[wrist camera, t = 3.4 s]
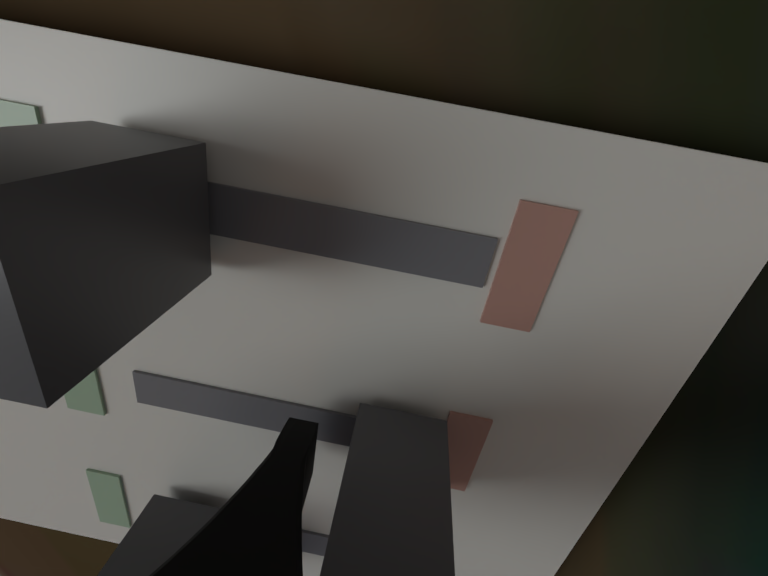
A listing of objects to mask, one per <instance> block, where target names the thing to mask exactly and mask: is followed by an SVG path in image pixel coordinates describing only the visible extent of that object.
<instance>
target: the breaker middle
mask: <svg viewBox="0 0 768 576" xmlns="http://www.w3.org/2000/svg"><path fill="white" fill-rule="evenodd" d="M320 576H455V565H454V545H453V526H452V506H451V486H450V467H449V447H448V428H447V421H446V420H441V419H437V418H432V417H427V416H422V415H417V414H412V413H407V412H403V411H398V410H393V409H388V408H383V407H378V406H373V405H369V404H364V403H360V404H359V408H358V413H357V417H356V421H355V425H354V430H353V434H352V438H351V443H350V447H349V451H348V456H347V460H346V464H345V469H344V473H343V477H342V482H341V486H340V490H339V495H338V499H337V503H336V508H335V512H334V516H333V521H332V525H331V529H330V533H329V538H328V542H327V546H326V551H325V555H324V559H323V564H322V568H321V572H320Z"/></svg>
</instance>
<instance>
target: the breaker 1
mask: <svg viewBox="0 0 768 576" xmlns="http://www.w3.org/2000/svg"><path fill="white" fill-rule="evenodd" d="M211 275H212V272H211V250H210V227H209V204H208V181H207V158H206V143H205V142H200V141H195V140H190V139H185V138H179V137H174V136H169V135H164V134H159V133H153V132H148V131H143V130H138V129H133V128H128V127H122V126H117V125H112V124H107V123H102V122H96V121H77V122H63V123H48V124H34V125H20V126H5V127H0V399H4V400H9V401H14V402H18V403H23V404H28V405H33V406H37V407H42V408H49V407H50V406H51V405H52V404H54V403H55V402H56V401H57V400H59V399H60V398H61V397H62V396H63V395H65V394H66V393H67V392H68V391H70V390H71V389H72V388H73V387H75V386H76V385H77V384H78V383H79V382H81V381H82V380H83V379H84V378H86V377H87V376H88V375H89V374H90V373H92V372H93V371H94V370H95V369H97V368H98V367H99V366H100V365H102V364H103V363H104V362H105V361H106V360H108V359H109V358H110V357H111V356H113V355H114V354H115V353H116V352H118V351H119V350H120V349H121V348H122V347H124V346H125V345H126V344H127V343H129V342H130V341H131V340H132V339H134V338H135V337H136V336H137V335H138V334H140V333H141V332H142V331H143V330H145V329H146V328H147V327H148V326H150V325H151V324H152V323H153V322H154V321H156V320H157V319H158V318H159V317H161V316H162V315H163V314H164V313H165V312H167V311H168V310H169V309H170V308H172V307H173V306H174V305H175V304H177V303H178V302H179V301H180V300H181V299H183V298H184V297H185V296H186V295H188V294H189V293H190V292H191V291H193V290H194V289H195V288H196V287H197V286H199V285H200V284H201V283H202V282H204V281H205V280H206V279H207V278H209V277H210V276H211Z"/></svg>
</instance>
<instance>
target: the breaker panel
mask: <svg viewBox="0 0 768 576" xmlns="http://www.w3.org/2000/svg"><path fill="white" fill-rule="evenodd" d="M77 121H96V122H102V123H107V124H112V125H117V126H122V127H128V128H133V129H138V130H143V131H148V132H153V133H159V134H164V135H169V136H174V137H179V138H185V139H190V140H195V141H200V142H205V143H206V158H207V181H208V204H209V227H210V250H211V272H212V275H211V276H210V277H209V278H207V279H206V280H205V281H204V282H202V283H201V284H200V285H199V286H197V287H196V288H195V289H194V290H193V291H191V292H190V293H189V294H188V295H186V296H185V297H184V298H183V299H181V300H180V301H179V302H178V303H177V304H175V305H174V306H173V307H172V308H170V309H169V310H168V311H167V312H165V313H164V314H163V315H162V316H161V317H159V318H158V319H157V320H156V321H154V322H153V323H152V324H151V325H150V326H148V327H147V328H146V329H145V330H143V331H142V332H141V333H140V334H138V335H137V336H136V337H135V338H134V339H132V340H131V341H130V342H129V343H127V344H126V345H125V346H124V347H122V348H121V349H120V350H119V351H118V352H116V353H115V354H114V355H113V356H111V357H110V358H109V359H108V360H106V361H105V362H104V363H103V364H102V365H100V366H99V367H98V368H97V369H95V370H94V371H93V372H92V373H90V374H89V375H88V376H87V377H86V378H84V379H83V380H82V381H81V382H79V383H78V384H77V385H76V386H75V387H73V388H72V389H71V390H70V391H68V392H67V393H66V394H65V395H63V396H62V397H61V398H60V399H59V400H57V401H56V402H55V403H54V404H52V405H51V406H50V407H49V408H42V407H37V406H33V405H28V404H23V403H18V402H14V401H9V400H4V399H0V518H4V519H8V520H13V521H18V522H22V523H27V524H31V525H36V526H41V527H45V528H50V529H54V530H59V531H64V532H68V533H73V534H77V535H82V536H87V537H91V538H96V539H100V540H105V541H110V542H114V543H119V544H120V542H121V541H122V540H123V538H124V537H125V535H126V534H127V532H128V531H129V530H130V528H131V527H132V525H133V524H134V522H135V521H136V519H137V518H138V517H139V515H140V514H141V512H142V511H143V509H144V508H145V507H146V505H147V504H148V502H149V501H150V499H151V498H152V496H153V495H154V494H156V495H161V496H165V497H170V498H175V499H179V500H184V501H189V502H193V503H198V504H203V505H207V506H212V507H217V508H221V507H222V506H223V505H224V504H225V503H226V502H227V501H228V500H229V499H230V498H231V497H232V496H233V495H234V494H235V492H236V491H237V490H238V489H239V488H240V487H241V486H242V485H243V484H244V483H245V481H246V480H247V479H248V478H249V477H250V476H251V474H252V473H253V472H254V471H255V470H256V469H257V467H258V466H259V465H260V464H261V463H262V462H263V460H264V459H265V458H266V457H267V455H268V454H269V453H270V452H271V450H272V449H273V447H274V445H275V442H276V440H277V438H278V436H279V434H280V432H281V431H282V429H283V427H284V425H285V424H286V422H287V420H288V419H289V417H291V418H296V419H301V420H306V421H311V422H316V423H319V425H318V433H317V442H316V450H315V459H314V467H313V474H312V478H311V481H310V485H309V489H308V492H307V496H306V499H305V503H304V507H303V510H302V566H303V576H320V572H321V568H322V564H323V559H324V555H325V551H326V546H327V542H328V538H329V533H330V529H331V525H332V521H333V516H334V512H335V508H336V503H337V499H338V495H339V490H340V486H341V482H342V477H343V473H344V469H345V464H346V460H347V456H348V451H349V447H350V443H351V438H352V434H353V430H354V425H355V421H356V417H357V413H358V408H359V404H360V403H364V404H369V405H373V406H378V407H383V408H388V409H393V410H398V411H403V412H407V413H412V414H417V415H422V416H427V417H432V418H437V419H441V420H446V421H447V428H448V447H449V467H450V486H451V506H452V526H453V545H454V565H455V576H554V575H555V573H556V572H557V570H558V569H559V567H560V566H561V564H562V563H563V561H564V560H565V558H566V557H567V556H568V554H569V553H570V551H571V550H572V548H573V547H574V545H575V544H576V542H577V541H578V539H579V538H580V536H581V535H582V533H583V532H584V530H585V529H586V528H587V526H588V525H589V523H590V522H591V520H592V519H593V517H594V516H595V514H596V513H597V511H598V510H599V508H600V507H601V505H602V504H603V503H604V501H605V500H606V498H607V497H608V495H609V494H610V492H611V491H612V489H613V488H614V486H615V485H616V483H617V482H618V480H619V479H620V477H621V476H622V475H623V473H624V472H625V470H626V469H627V467H628V466H629V464H630V463H631V461H632V460H633V458H634V457H635V455H636V454H637V452H638V451H639V449H640V448H641V447H642V445H643V444H644V442H645V441H646V439H647V438H648V436H649V435H650V433H651V432H652V430H653V429H654V427H655V426H656V424H657V423H658V422H659V420H660V419H661V417H662V416H663V414H664V413H665V411H666V410H667V408H668V407H669V405H670V404H671V402H672V401H673V399H674V398H675V396H676V395H677V394H678V392H679V391H680V389H681V388H682V386H683V385H684V383H685V382H686V380H687V379H688V377H689V376H690V374H691V373H692V371H693V370H694V368H695V367H696V366H697V364H698V363H699V361H700V360H701V358H702V357H703V355H704V354H705V352H706V351H707V349H708V348H709V346H710V345H711V343H712V342H713V340H714V339H715V338H716V336H717V335H718V333H719V332H720V330H721V329H722V327H723V326H724V324H725V323H726V321H727V320H728V318H729V317H730V315H731V314H732V313H733V311H734V310H735V308H736V307H737V305H738V304H739V302H740V301H741V299H742V298H743V296H744V295H745V293H746V292H747V290H748V289H749V287H750V286H751V285H752V283H753V282H754V280H755V279H756V277H757V276H758V274H759V273H760V271H761V270H762V268H763V267H764V265H765V264H766V262H767V261H768V163H765V162H760V161H755V160H750V159H745V158H739V157H734V156H729V155H724V154H718V153H713V152H708V151H702V150H697V149H692V148H686V147H681V146H676V145H670V144H665V143H660V142H654V141H649V140H644V139H638V138H633V137H628V136H622V135H617V134H612V133H606V132H601V131H596V130H590V129H585V128H580V127H574V126H569V125H564V124H558V123H553V122H548V121H543V120H537V119H532V118H527V117H521V116H516V115H511V114H505V113H500V112H495V111H489V110H484V109H479V108H473V107H468V106H463V105H457V104H452V103H447V102H441V101H436V100H431V99H425V98H420V97H415V96H409V95H404V94H399V93H393V92H388V91H383V90H377V89H372V88H367V87H361V86H356V85H351V84H346V83H340V82H335V81H330V80H324V79H319V78H314V77H308V76H303V75H298V74H292V73H287V72H282V71H276V70H271V69H266V68H260V67H255V66H250V65H244V64H239V63H234V62H228V61H223V60H218V59H212V58H207V57H202V56H196V55H191V54H186V53H180V52H175V51H170V50H164V49H159V48H154V47H149V46H143V45H138V44H133V43H127V42H122V41H117V40H111V39H106V38H101V37H95V36H90V35H85V34H79V33H74V32H69V31H63V30H58V29H53V28H47V27H42V26H37V25H31V24H26V23H21V22H15V21H10V20H5V19H0V127H5V126H20V125H34V124H48V123H63V122H77Z"/></svg>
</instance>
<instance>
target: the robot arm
mask: <svg viewBox="0 0 768 576" xmlns="http://www.w3.org/2000/svg"><path fill="white" fill-rule="evenodd" d="M318 425H319V423H316V422H311V421H306V420H301V419H296V418H291V417H289V419H288V420H287V422H286V424H285V425H284V427H283V429H282V431H281V432H280V434H279V436H278V438H277V440H276V442H275V445H274V447H273V449H272V450H271V452H270V453H269V454H268V455H267V457H266V458H265V459H264V460H263V462H262V463H261V464H260V465H259V466H258V467H257V469H256V470H255V471H254V472H253V473H252V474H251V476H250V477H249V478H248V479H247V480H246V481H245V483H244V484H243V485H242V486H241V487H240V488H239V489H238V490H237V491H236V492H235V494H234V495H233V496H232V497H231V498H230V499H229V500H228V501H227V502H226V503H225V504H224V505H223V506H222V507H221V508H220V509H219V510H218V511H217V513H216V514H215V515H214V516H213V517H212V518H211V519H210V520H209V521H208V522H207V523H206V524H205V525H204V526H203V527H202V528H201V529H200V530H199V531H198V532H197V533H196V534H194V535H193V536H192V537H191V538H190V539H189V540H188V541H187V542H186V543H185V544H184V545H183V546H182V547H181V548H180V549H179V550H177V551H176V552H175V553H174V554H173V555H172V556H171V557H170V558H169V559H168V560H166V561H165V562H164V563H163V564H162V565H161V566H160V567H158V568H157V569H156V570H155V571H154V572H153V573H152V574H150V575H149V576H303V566H302V510H303V507H304V503H305V499H306V496H307V492H308V489H309V485H310V481H311V478H312V474H313V467H314V459H315V450H316V442H317V433H318Z"/></svg>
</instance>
